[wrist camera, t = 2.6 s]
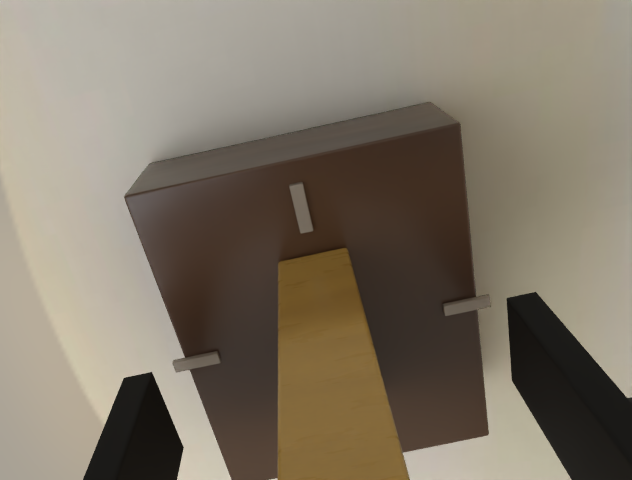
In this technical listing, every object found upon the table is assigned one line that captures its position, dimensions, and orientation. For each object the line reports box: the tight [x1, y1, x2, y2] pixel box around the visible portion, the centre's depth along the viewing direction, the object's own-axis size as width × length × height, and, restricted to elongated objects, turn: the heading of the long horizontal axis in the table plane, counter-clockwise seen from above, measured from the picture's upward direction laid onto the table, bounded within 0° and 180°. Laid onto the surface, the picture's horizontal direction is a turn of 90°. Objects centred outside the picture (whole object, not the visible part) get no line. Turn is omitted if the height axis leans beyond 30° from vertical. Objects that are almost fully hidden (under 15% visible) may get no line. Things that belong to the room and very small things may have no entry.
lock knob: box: [278, 248, 410, 480], centre depth 13 cm, size 6×2×8 cm, turn 12°
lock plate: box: [124, 102, 491, 480], centre depth 18 cm, size 11×10×3 cm
